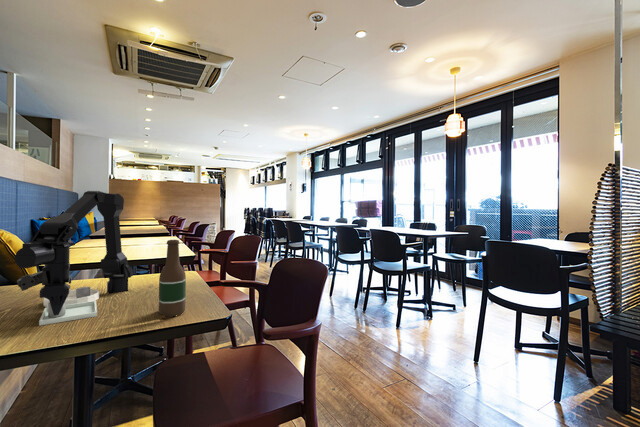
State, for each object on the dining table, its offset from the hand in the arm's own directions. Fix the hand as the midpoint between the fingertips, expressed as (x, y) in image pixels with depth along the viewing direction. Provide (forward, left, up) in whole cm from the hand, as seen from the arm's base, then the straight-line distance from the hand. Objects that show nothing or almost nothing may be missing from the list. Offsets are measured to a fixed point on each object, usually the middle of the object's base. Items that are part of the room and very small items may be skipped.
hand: (56, 313), depth 91 cm
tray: (-3, 0, -2) cm, 4 cm away
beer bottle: (-29, +15, -2) cm, 33 cm away
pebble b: (0, 0, -1) cm, 1 cm away
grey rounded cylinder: (-6, -16, -1) cm, 18 cm away
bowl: (-3, -16, -2) cm, 17 cm away
